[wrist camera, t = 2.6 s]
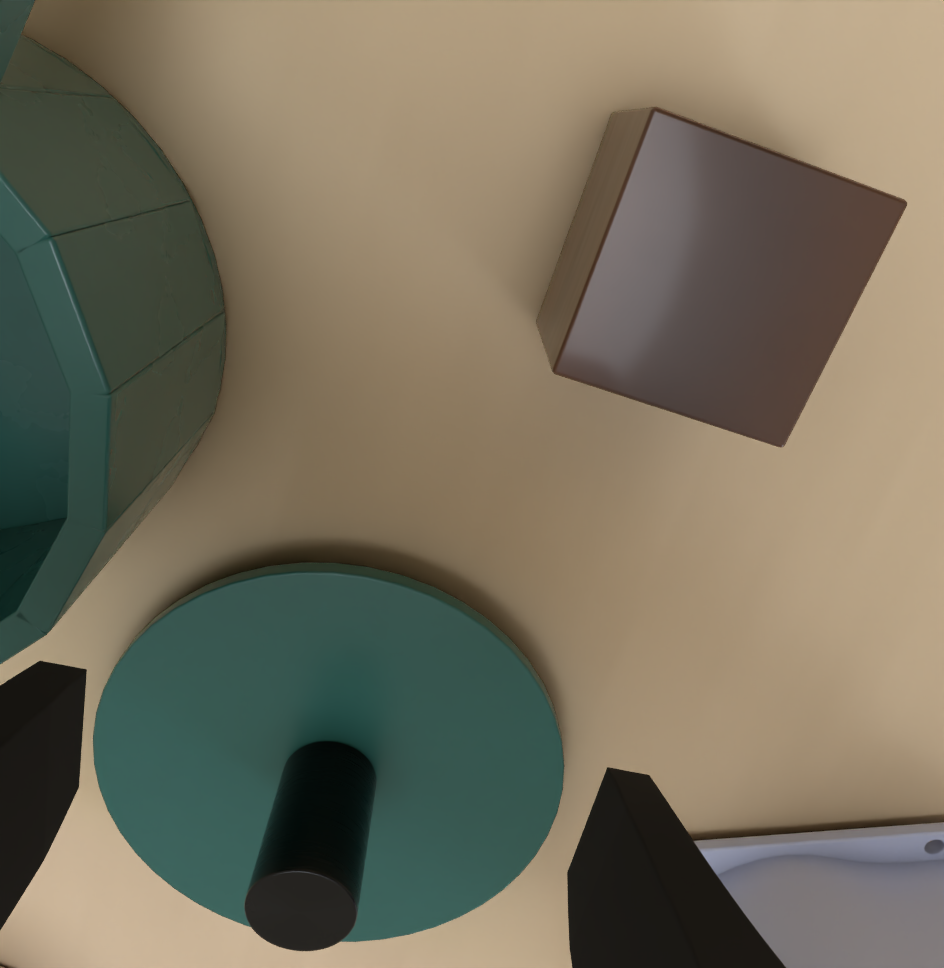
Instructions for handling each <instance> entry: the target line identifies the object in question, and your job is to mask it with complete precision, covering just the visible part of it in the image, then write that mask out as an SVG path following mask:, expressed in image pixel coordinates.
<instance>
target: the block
mask: <svg viewBox="0 0 944 968" xmlns="http://www.w3.org/2000/svg"><path fill="white" fill-rule="evenodd" d="M906 206H907V202H906V201H905V200H904V199H901V198H899V197H896V196H893V195H891V194H888V193H885V192H883V191H880V190H877V189H875V188H872V187H869V186H867V185H864V184H861V183H859V182H856V181H853V180H851V179H848V178H845V177H843V176H840V175H837V174H835V173H832V172H829V171H827V170H824V169H821V168H819V167H816V166H813V165H811V164H808V163H805V162H803V161H800V160H797V159H795V158H792V157H789V156H787V155H784V154H781V153H779V152H776V151H773V150H771V149H768V148H765V147H763V146H760V145H757V144H755V143H752V142H749V141H747V140H744V139H741V138H739V137H736V136H733V135H731V134H728V133H725V132H723V131H720V130H717V129H715V128H712V127H709V126H707V125H704V124H701V123H699V122H696V121H693V120H691V119H688V118H685V117H683V116H680V115H677V114H675V113H672V112H669V111H667V110H664V109H661V108H659V107H651V108H643V109H634V110H626V111H618V112H613V113H612V114H611V117H610V120H609V122H608V125H607V128H606V131H605V133H604V136H603V139H602V142H601V144H600V147H599V150H598V153H597V155H596V158H595V161H594V164H593V166H592V169H591V172H590V175H589V177H588V180H587V183H586V186H585V188H584V191H583V194H582V197H581V199H580V202H579V205H578V208H577V210H576V213H575V216H574V219H573V221H572V224H571V227H570V230H569V233H568V235H567V238H566V241H565V244H564V246H563V249H562V252H561V255H560V257H559V260H558V263H557V266H556V268H555V271H554V274H553V277H552V279H551V282H550V285H549V288H548V290H547V293H546V296H545V299H544V301H543V304H542V307H541V310H540V312H539V315H538V318H537V321H536V324H537V327H538V330H539V333H540V336H541V339H542V342H543V345H544V348H545V351H546V354H547V357H548V360H549V363H550V366H551V369H552V372H553V373H554V374H556V375H559V376H562V377H565V378H568V379H572V380H575V381H578V382H581V383H584V384H587V385H590V386H593V387H596V388H599V389H602V390H605V391H608V392H611V393H614V394H618V395H621V396H624V397H627V398H630V399H633V400H636V401H639V402H642V403H645V404H648V405H651V406H654V407H657V408H660V409H663V410H667V411H670V412H673V413H676V414H679V415H682V416H685V417H688V418H691V419H694V420H697V421H700V422H703V423H706V424H709V425H713V426H716V427H719V428H722V429H725V430H728V431H731V432H734V433H737V434H740V435H743V436H746V437H749V438H752V439H755V440H758V441H762V442H765V443H768V444H771V445H774V446H777V447H783V446H784V445H785V444H786V442H787V440H788V438H789V436H790V434H791V432H792V430H793V428H794V426H795V424H796V422H797V420H798V418H799V416H800V414H801V412H802V410H803V408H804V406H805V404H806V402H807V401H808V399H809V397H810V395H811V393H812V391H813V389H814V387H815V385H816V383H817V381H818V379H819V377H820V375H821V373H822V371H823V369H824V367H825V365H826V363H827V361H828V359H829V357H830V355H831V353H832V351H833V349H834V347H835V346H836V344H837V342H838V340H839V338H840V336H841V334H842V332H843V330H844V328H845V326H846V324H847V322H848V320H849V318H850V316H851V314H852V312H853V310H854V308H855V306H856V304H857V302H858V300H859V298H860V296H861V294H862V293H863V291H864V289H865V287H866V285H867V283H868V281H869V279H870V277H871V275H872V273H873V271H874V269H875V267H876V265H877V263H878V261H879V259H880V257H881V255H882V253H883V251H884V249H885V247H886V245H887V243H888V241H889V240H890V238H891V236H892V234H893V232H894V230H895V228H896V226H897V224H898V222H899V220H900V218H901V216H902V214H903V212H904V210H905V208H906Z"/></svg>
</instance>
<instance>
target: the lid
mask: <svg viewBox="0 0 944 968" xmlns="http://www.w3.org/2000/svg"><path fill="white" fill-rule="evenodd" d="M93 749H94V765H95V770H96V774H97V779H98V784H99V788H100V791H101V793H102V796H103V799H104V801H105V804H106V806H107V809H108V811H109V813H110V815H111V817H112V818H113V820H114V822H115V824H116V826H117V827H118V829H119V831H120V833H121V834H122V835H123V837H124V838H125V839H126V841H127V842H128V843H129V845H130V846H131V847H132V849H133V850H134V851H135V853H136V854H137V855H138V856H139V857H140V858H141V859H142V860H143V861H144V862H145V863H146V864H147V865H148V866H149V867H150V868H151V869H152V870H153V871H154V872H155V873H156V874H157V875H158V876H160V877H161V878H162V879H163V880H165V881H166V882H167V883H168V884H169V885H171V886H172V887H173V888H174V889H176V890H177V891H179V892H181V893H182V894H184V895H185V896H187V897H188V898H190V899H191V900H193V901H194V902H196V903H198V904H199V905H201V906H203V907H205V908H207V909H209V910H211V911H213V912H215V913H217V914H219V915H221V916H223V917H226V918H228V919H231V920H233V921H236V922H238V923H241V924H243V925H246V926H249V927H252V929H253V930H254V931H255V932H256V933H257V934H258V935H259V936H260V937H262V938H263V939H265V940H266V941H268V942H270V943H272V944H274V945H276V946H279V947H282V948H285V949H289V950H296V951H315V950H320V949H324V948H328V947H330V946H333V945H335V944H337V943H339V942H358V941H369V940H381V939H387V938H393V937H398V936H404V935H409V934H413V933H416V932H420V931H423V930H426V929H430V928H433V927H436V926H439V925H441V924H444V923H446V922H449V921H451V920H453V919H456V918H458V917H460V916H462V915H464V914H466V913H468V912H470V911H471V910H473V909H475V908H477V907H479V906H481V905H482V904H484V903H485V902H487V901H488V900H489V899H491V898H492V897H494V896H495V895H496V894H498V893H499V892H501V891H502V890H503V889H504V888H505V887H506V886H508V885H509V884H510V883H511V882H512V881H513V880H514V879H515V878H516V877H517V876H518V875H520V873H521V872H522V871H523V870H524V869H525V867H526V866H527V865H528V864H529V863H530V861H531V860H532V859H533V858H534V857H535V855H536V854H537V852H538V850H539V849H540V847H541V845H542V844H543V842H544V841H545V839H546V837H547V836H548V833H549V831H550V829H551V826H552V824H553V821H554V819H555V817H556V814H557V811H558V807H559V803H560V799H561V794H562V790H563V777H564V758H563V748H562V739H561V732H560V728H559V724H558V721H557V717H556V713H555V709H554V706H553V704H552V702H551V700H550V697H549V695H548V693H547V691H546V688H545V686H544V684H543V682H542V681H541V679H540V677H539V676H538V674H537V673H536V671H535V670H534V668H533V666H532V665H531V663H530V662H529V660H528V659H527V658H526V657H525V656H524V654H523V653H522V652H521V651H520V650H519V649H518V648H517V646H516V645H515V644H514V643H513V642H512V641H511V639H510V638H509V637H507V636H506V635H505V634H504V633H503V632H502V631H501V630H499V629H498V628H497V627H496V626H495V625H494V624H493V623H492V622H490V621H489V620H488V619H487V618H486V617H484V616H483V615H481V614H480V613H478V612H477V611H475V610H474V609H472V608H471V607H469V606H468V605H466V604H465V603H463V602H462V601H460V600H458V599H456V598H454V597H452V596H450V595H448V594H447V593H445V592H443V591H441V590H439V589H437V588H435V587H433V586H430V585H428V584H425V583H422V582H419V581H417V580H414V579H411V578H409V577H406V576H403V575H400V574H396V573H392V572H387V571H383V570H379V569H375V568H371V567H365V566H357V565H349V564H341V563H294V564H284V565H275V566H268V567H263V568H259V569H255V570H250V571H246V572H242V573H238V574H235V575H232V576H229V577H227V578H224V579H221V580H219V581H216V582H213V583H210V584H208V585H206V586H204V587H202V588H200V589H198V590H196V591H194V592H192V593H191V594H189V595H187V596H185V597H183V598H181V599H180V600H178V601H177V602H175V603H174V604H173V605H171V606H170V607H169V608H167V609H166V610H164V611H163V612H162V613H160V614H159V615H158V616H156V617H155V618H154V619H153V620H152V621H151V622H150V623H149V624H148V625H147V626H146V627H145V628H144V629H143V630H142V631H141V632H140V633H139V634H138V635H137V636H136V638H135V639H134V640H133V642H132V643H131V644H130V646H129V647H128V648H127V650H126V651H125V653H124V654H123V655H122V657H121V658H120V660H119V661H118V663H117V664H116V666H115V667H114V669H113V671H112V673H111V675H110V677H109V679H108V681H107V683H106V685H105V687H104V689H103V692H102V696H101V699H100V702H99V705H98V709H97V712H96V718H95V726H94V734H93Z"/></svg>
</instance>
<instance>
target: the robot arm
mask: <svg viewBox="0 0 944 968" xmlns="http://www.w3.org/2000/svg"><path fill="white" fill-rule="evenodd" d="M86 671H87V670H86V669H81V668H75V667H70V666H65V665H59V664H54V663H49V662H43V661H39V662H37V663H36V664H34V665H32V666H31V667H29V668H27V669H26V670H24V671H23V672H21V673H19V674H18V675H16V676H15V677H13V678H11V679H10V680H8V681H7V682H5V683H4V684H2V685H1V686H0V930H1V928H2V927H3V925H4V924H5V922H6V920H7V919H8V917H9V916H10V914H11V912H12V911H13V909H14V908H15V906H16V904H17V903H18V901H19V900H20V898H21V896H22V895H23V893H24V892H25V890H26V888H27V887H28V885H29V884H30V882H31V880H32V879H33V877H34V875H35V874H36V872H37V871H38V869H39V867H40V866H41V864H42V862H43V861H44V859H45V857H46V855H47V853H48V851H49V849H50V847H51V845H52V843H53V841H54V839H55V837H56V835H57V832H58V830H59V828H60V826H61V824H62V822H63V820H64V818H65V816H66V814H67V811H68V809H69V807H70V805H71V803H72V801H73V799H74V796H75V794H76V792H77V790H78V788H79V777H80V762H81V746H82V731H83V716H84V701H85V686H86ZM929 841H931V842H929ZM567 876H568V918H569V941H570V953H571V960H572V967H573V968H944V822H940V823H926V824H913V825H899V826H886V827H872V828H859V829H846V830H832V831H819V832H805V833H792V834H778V835H765V836H751V837H738V838H724V839H711V840H697V841H693V840H692V838H691V837H690V835H689V834H688V832H687V831H686V829H685V828H684V826H683V825H682V823H681V822H680V820H679V819H678V817H677V816H676V814H675V813H674V811H673V810H672V808H671V807H670V805H669V804H668V802H667V801H666V799H665V798H664V796H663V795H662V793H661V792H660V790H659V789H658V787H657V786H656V784H655V783H654V782H653V780H652V779H651V777H650V776H649V775H645V774H640V773H635V772H629V771H624V770H619V769H613V768H608V767H607V770H606V773H605V775H604V778H603V780H602V783H601V786H600V788H599V791H598V794H597V796H596V799H595V801H594V804H593V807H592V809H591V812H590V815H589V817H588V820H587V822H586V825H585V828H584V830H583V833H582V836H581V838H580V841H579V843H578V846H577V849H576V851H575V854H574V857H573V859H572V862H571V865H570V867H569V870H568V872H567Z"/></svg>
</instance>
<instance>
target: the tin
mask: <svg viewBox="0 0 944 968" xmlns="http://www.w3.org/2000/svg"><path fill="white" fill-rule="evenodd" d="M34 2H35V0H0V664H2V663H3V662H5V661H6V660H8V659H9V658H11V657H13V656H14V655H16V654H17V653H19V652H20V651H22V650H24V649H25V648H27V647H28V646H30V645H31V644H33V643H35V642H36V641H38V640H39V639H41V638H42V637H44V636H45V635H47V634H48V632H49V631H50V630H51V629H52V628H53V627H54V626H55V624H56V623H57V622H58V621H59V620H60V619H61V617H62V616H63V615H64V614H65V613H66V611H67V610H68V609H69V608H70V607H71V605H72V604H73V603H74V602H75V601H76V599H77V598H78V597H79V596H80V595H81V594H82V592H83V591H84V590H85V589H86V588H87V586H88V585H89V584H90V583H91V582H92V580H93V579H94V578H95V577H96V576H97V574H98V573H99V572H100V571H101V570H102V569H103V567H104V566H105V565H106V564H107V563H108V561H109V560H110V559H111V558H112V557H113V555H114V554H115V553H116V552H117V551H118V549H119V548H120V547H121V546H122V545H123V544H124V542H125V541H126V540H127V539H128V538H129V536H130V535H131V534H132V533H133V532H134V530H135V529H136V528H137V527H138V526H139V524H140V523H141V522H142V521H143V520H144V519H145V517H146V516H147V515H148V514H149V513H150V511H151V510H152V509H153V508H154V507H155V505H156V504H157V503H158V502H159V501H160V499H161V498H162V497H163V496H164V495H165V493H166V492H167V491H168V490H169V489H170V488H171V486H172V484H173V483H174V481H175V479H176V478H177V476H178V474H179V472H180V471H181V469H182V467H183V466H184V464H185V462H186V461H187V459H188V458H189V456H190V455H191V453H192V452H193V451H194V449H195V448H196V446H197V445H198V443H199V441H200V439H201V437H202V435H203V433H204V431H205V429H206V427H207V425H208V423H209V422H210V420H211V418H212V417H213V415H214V411H215V409H216V401H217V397H218V394H219V391H220V386H221V380H222V374H223V368H224V362H225V347H226V319H225V309H224V300H223V290H222V286H221V282H220V277H219V273H218V269H217V265H216V260H215V256H214V253H213V250H212V247H211V245H210V242H209V239H208V237H207V234H206V231H205V228H204V226H203V223H202V220H201V218H200V216H199V214H198V212H197V210H196V208H195V206H194V204H193V202H192V200H191V198H190V196H189V194H188V192H187V190H186V188H185V186H184V184H183V183H182V181H181V180H180V178H179V177H178V175H177V173H176V172H175V170H174V169H173V167H172V166H171V164H170V163H169V161H168V160H167V158H166V157H165V155H164V154H163V152H162V151H161V149H160V148H159V147H158V146H157V144H156V143H155V142H154V141H153V140H152V138H151V137H150V136H149V135H148V134H147V132H146V131H145V130H144V129H143V128H142V126H141V125H140V124H139V123H138V122H137V120H136V119H135V118H134V117H133V116H132V115H131V114H130V113H129V112H128V111H127V110H126V109H125V108H124V107H123V106H122V105H121V104H120V103H119V102H118V101H117V100H116V99H114V98H113V97H112V96H111V95H110V94H109V93H108V92H107V91H106V90H105V89H104V88H103V87H102V86H101V85H99V84H98V83H97V82H95V81H94V80H93V79H91V78H90V77H89V76H87V75H86V74H85V73H83V72H82V71H81V70H80V69H78V68H77V67H76V66H74V65H73V64H72V63H70V62H69V61H68V60H66V59H64V58H63V57H61V56H59V55H58V54H56V53H54V52H53V51H51V50H49V49H47V48H46V47H44V46H42V45H41V44H39V43H37V42H36V41H34V40H32V39H31V38H28V37H26V36H24V35H22V34H21V33H22V31H23V28H24V26H25V23H26V21H27V19H28V16H29V14H30V11H31V9H32V7H33V4H34Z"/></svg>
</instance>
